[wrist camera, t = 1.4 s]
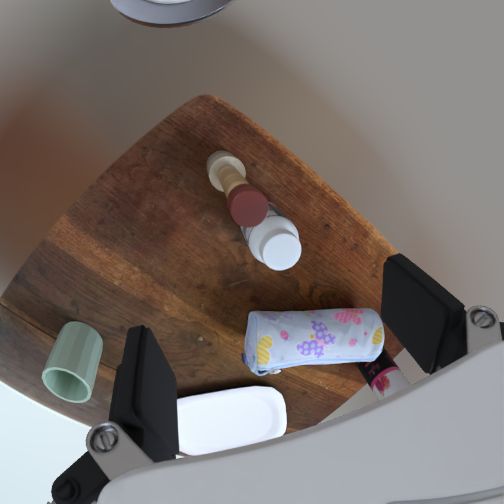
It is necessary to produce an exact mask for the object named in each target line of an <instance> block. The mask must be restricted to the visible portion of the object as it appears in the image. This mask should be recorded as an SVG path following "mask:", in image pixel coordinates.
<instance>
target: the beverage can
mask: <svg viewBox="0 0 504 504" xmlns="http://www.w3.org/2000/svg"><path fill="white" fill-rule="evenodd" d="M358 368H359V370H360V372H361V373H362V375H363V376H364V378H365V380H366V381H367V383H368V384H369V386H370V387H371V389H372V391H373V392H374V394H375V395H376V397H377V399H378V401H379V400H381V399H383V398H386V397H388V396H390V395H392V394H394V393H396V392H398V391H400V390H403V389H405V388H407V387H409V386H411V384H410V382H409V381H408V380H407V378H406V377H405V376H404V374H403V373H402V371H401V370H400V369H399V367H398V366H397V365H396V363H395V362H394V361H393V359H392V358H391V357H390V355H389V354H388V353H387V351H386V350H385V349H384V348H383V349H382V352H381V353H380V355H379V356H378V357H377V358H376V359H375V360H374V361H371V362H359V364H358Z"/></svg>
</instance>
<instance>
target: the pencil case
mask: <svg viewBox="0 0 504 504" xmlns="http://www.w3.org/2000/svg"><path fill="white" fill-rule="evenodd" d="M383 343H384V329H383V324H382V321H381V318H380V317H379V315H378V314H377V312H375V311H374V310H373V309H371V308H359V309H357V308H351V309H350V308H338V309H326V310H308V311H284V312H278V311H252V312H250V313H249V317H248V326H247V331H246V337H245V355H244V354H243V353H242V361H243V363H244V364H245V365H248V366H249V368H250V370H251V371H252V372H254V373H255V374H256V375H258V376H262V375H265V374H267V373H270V374H276V373H279V372H281V370H279V369H280V368H286V367H292V366H298V365H304V364H306V365H311V364H335V363H347V362H371V361H374V360H375V359H376V358H377V357H378V356H379V355H380V353H381V352H382V349H383Z"/></svg>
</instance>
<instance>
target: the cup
mask: <svg viewBox="0 0 504 504" xmlns="http://www.w3.org/2000/svg"><path fill="white" fill-rule="evenodd" d="M102 350H103V341H102V338H101V337H100V335H99V333H98V332H97V331H96V330H95V329H93V328H92V327H91V326H89V325H87V324H85V323H82V322H76V321H73V322H69V323H67V324H65V325H64V326H63V327H62V329H61V331H60V333H59V335H58V337H57V339H56V342H55V344H54V346H53V349H52V351H51V353H50V356H49V358H48V360H47V363H46V365H45V368H44V370H43V374H42V379H43V382H44V384H45V386H46V387H47V388H48V389H49V390H50V391H51V392H52V393H53V394H55V395H56V396H57V397H59V398H61V399H64V400H66V401H69V402H74V403H81V402H85V401H87V400H89V399H90V397H91V394H92V390H93V385H94V381H95V377H96V373H97V369H98V365H99V361H100V357H101V353H102Z"/></svg>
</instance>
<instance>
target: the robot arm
mask: <svg viewBox="0 0 504 504" xmlns="http://www.w3.org/2000/svg"><path fill="white" fill-rule="evenodd" d="M147 1H150V2H154V3H161V4H175V3H182V2H187V1H190V0H147ZM464 307H465V306H464V305H463V304H462V303H461V302H460V301H459V300H458V299H457V298H455V297H454V296H453V295H452V294H450V293H449V292H448V291H447V290H446V289H445V288H444V287H442V286H441V285H440V284H439V283H437V282H436V281H435V280H434V279H432V277H430V276H429V275H428V274H427V273H425V272H424V271H423V270H422V269H420V268H419V267H418V266H416V265H415V264H414V263H413V262H411V261H410V260H409V259H408V258H406V257H405V256H404V255H402V254H400V253H399V254H396V255H393V256H390V257H388V258H387V260H386V262H384V267H383V288H382V303H381V318H382V320H383V322H384V323H385V324H386V325H387V326H388V328H389V329H390V330H391V331H392V332H393V334H394V335H395V336H396V337H397V339H398V340H399V341H400V342H401V343H402V345H403V346H404V347H405V348H406V350H407V351H408V352H409V353H410V354H411V356H412V357H413V358H414V359H415V361H416V362H417V363H418V364H419V366H420V367H421V368H422V370H423V371H424V372H425V373H429V374H430V376H428V377H426V378H424V379H422V380H420V381H418V382H416V383H414V384H413V385H411V386H409V387H407V388H405V389H403V390H400V391H398V392H396V393H394V394H392V395H390V396H388V397H386V398H383V399H381V400H379V401H377V402H374V403H372V404H370V405H368V406H365V407H363V408H361V409H358V410H356V411H353V412H351V413H348V414H346V415H343V416H340V417H338V418H335V419H332V420H330V421H327V422H324V423H321V424H318V425H315V426H312V427H309V428H306V429H303V430H300V431H297V432H294V433H290V434H287V435H284V436H280V437H277V438H273V439H269V440H265V441H262V442H258V443H254V444H250V445H245V446H241V447H236V448H232V449H227V450H222V451H217V452H212V453H207V454H202V455H196V456H190V457H184V458H179V459H176V454H179V434H178V412H177V381H176V377H175V374H174V372H173V370H172V369H171V367H170V365H169V363H168V361H167V360H166V358H165V356H164V354H163V352H162V350H161V348H160V346H159V345H158V343H157V341H156V339H155V337H154V335H153V333H152V331H151V329H150V328H145V326H144V325H141V326H136V327H132V328H129V330H128V334H127V338H126V343H125V348H124V354H123V359H122V364H120V365H119V366H118V367H117V371H116V377H115V382H114V388H113V394H112V401H111V407H110V414H109V421H104V422H100V423H98V424H96V425H95V426H93V427H92V428H91V429H90V431H89V432H88V434H87V437H86V447H87V449H88V451H87V452H86V453H85V454H84V455H82V456H81V457H80V458H79V459H78V460H77V461H76V462H75V463H73V464H72V465H71V466H70V467H69V468H68V469H67V470H66V471H64V472H63V473H62V474H61V475H60V476H59V477H58V478H57V479H56V480H55V481H54V483H53V485H52V490H51V493H52V497H53V501H52V503H50V502H48V503H47V504H504V322H499V318H498V316H497V314H496V313H495V312H494V311H493V310H492V309H490V308H488V307H486V306H474V307H471V308H470V309H469V310H468V311H467V312H466V311H465V310H464Z"/></svg>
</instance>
